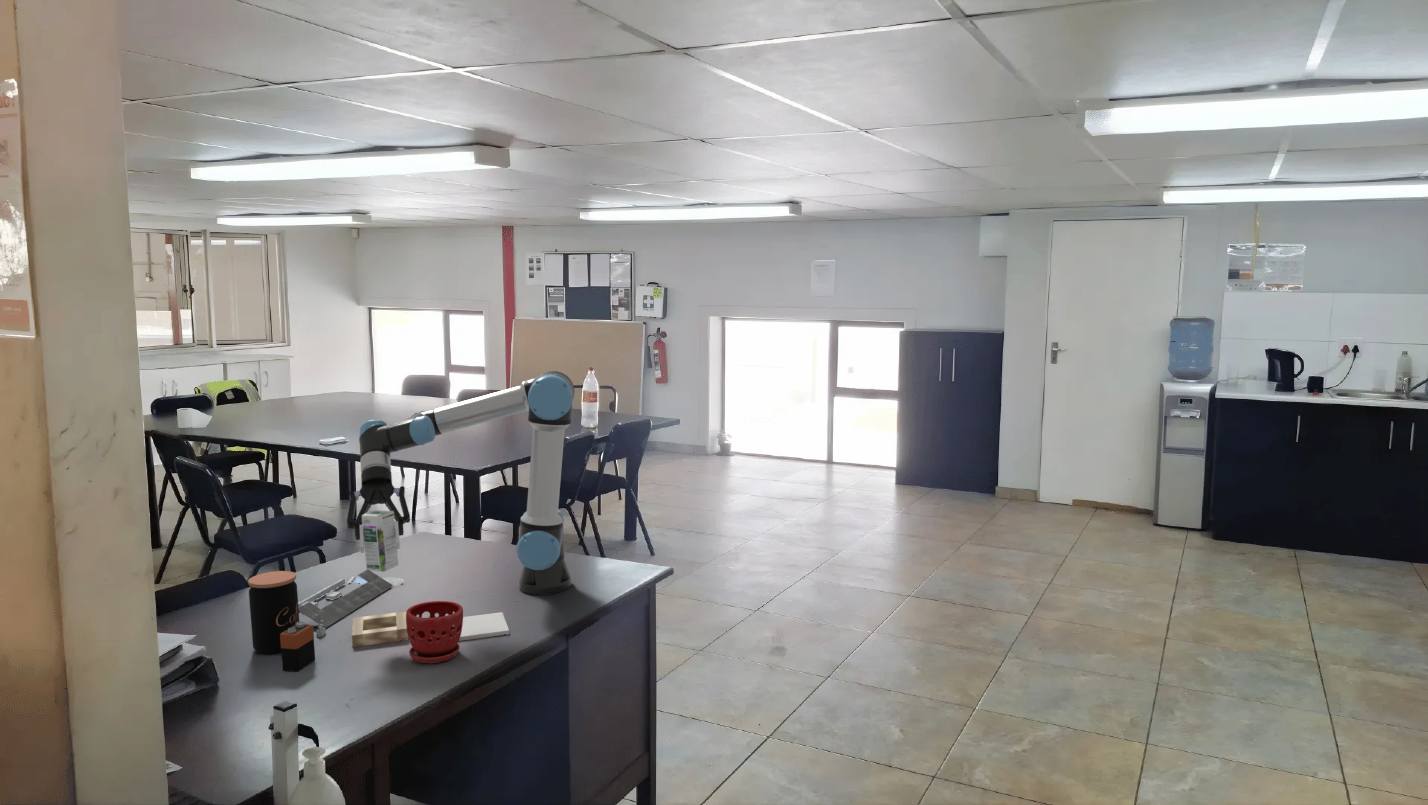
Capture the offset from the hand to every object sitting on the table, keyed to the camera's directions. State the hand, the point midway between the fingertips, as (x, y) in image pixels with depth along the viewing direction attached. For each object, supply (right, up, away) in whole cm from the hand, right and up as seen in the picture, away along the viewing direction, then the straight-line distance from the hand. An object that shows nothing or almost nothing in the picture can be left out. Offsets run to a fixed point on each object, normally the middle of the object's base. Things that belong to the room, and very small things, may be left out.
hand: (380, 547), depth 227 cm
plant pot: (+17, -25, -8) cm, 31 cm away
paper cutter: (-22, -21, +28) cm, 41 cm away
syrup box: (-1, -6, +4) cm, 7 cm away
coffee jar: (-25, -25, -2) cm, 35 cm away
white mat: (+22, -22, +9) cm, 33 cm away
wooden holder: (-2, -23, +6) cm, 24 cm away
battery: (-14, -26, -13) cm, 32 cm away
